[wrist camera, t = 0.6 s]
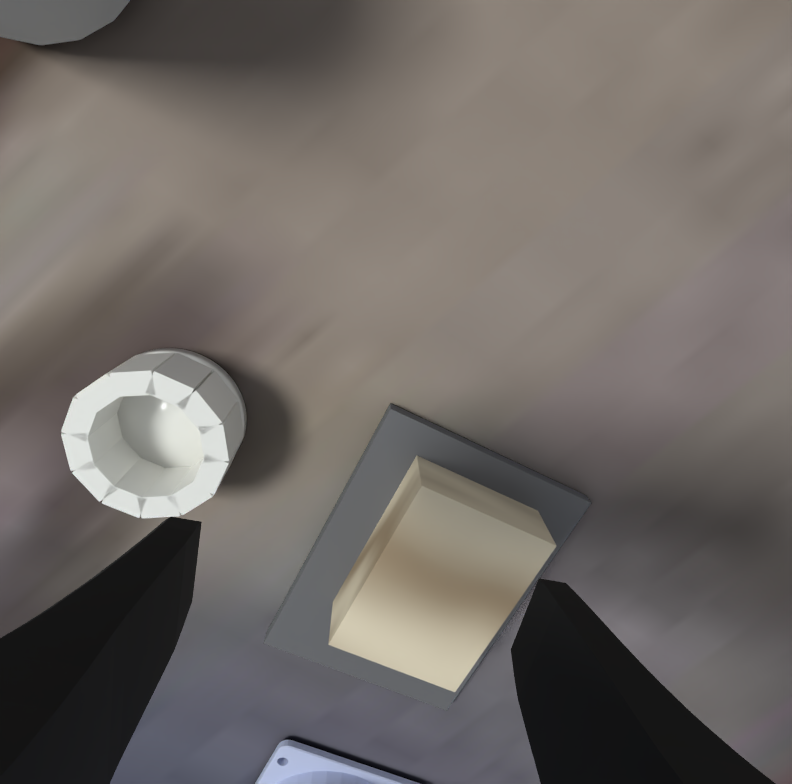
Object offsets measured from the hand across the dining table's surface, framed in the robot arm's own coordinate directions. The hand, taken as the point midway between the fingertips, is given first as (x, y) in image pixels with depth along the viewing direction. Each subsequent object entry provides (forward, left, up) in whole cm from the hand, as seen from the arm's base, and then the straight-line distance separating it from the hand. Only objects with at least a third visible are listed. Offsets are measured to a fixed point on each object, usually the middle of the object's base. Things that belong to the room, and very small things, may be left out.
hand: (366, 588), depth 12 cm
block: (-4, -5, -10) cm, 12 cm away
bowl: (-3, +6, -10) cm, 13 cm away
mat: (-5, -5, -10) cm, 12 cm away
